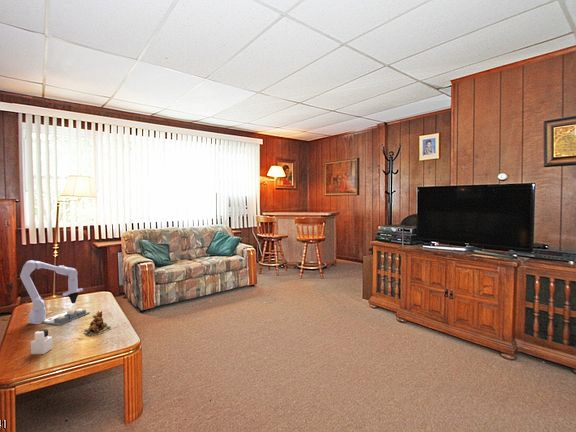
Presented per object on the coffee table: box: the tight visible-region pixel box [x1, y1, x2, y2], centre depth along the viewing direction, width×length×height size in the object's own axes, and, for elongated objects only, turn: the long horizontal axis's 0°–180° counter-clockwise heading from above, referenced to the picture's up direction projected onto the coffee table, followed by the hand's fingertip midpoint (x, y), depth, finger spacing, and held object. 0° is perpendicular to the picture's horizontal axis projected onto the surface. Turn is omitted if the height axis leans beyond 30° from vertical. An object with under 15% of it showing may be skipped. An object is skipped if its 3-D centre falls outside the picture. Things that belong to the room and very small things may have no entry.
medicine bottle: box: [30, 328, 53, 355], centre depth 176 cm, size 7×7×12 cm
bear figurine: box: [83, 311, 112, 337], centre depth 204 cm, size 14×15×12 cm
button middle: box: [66, 309, 74, 315], centre depth 225 cm, size 4×4×3 cm
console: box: [41, 309, 90, 326], centre depth 227 cm, size 18×24×3 cm
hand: (73, 303), depth 230 cm, fingers closed
